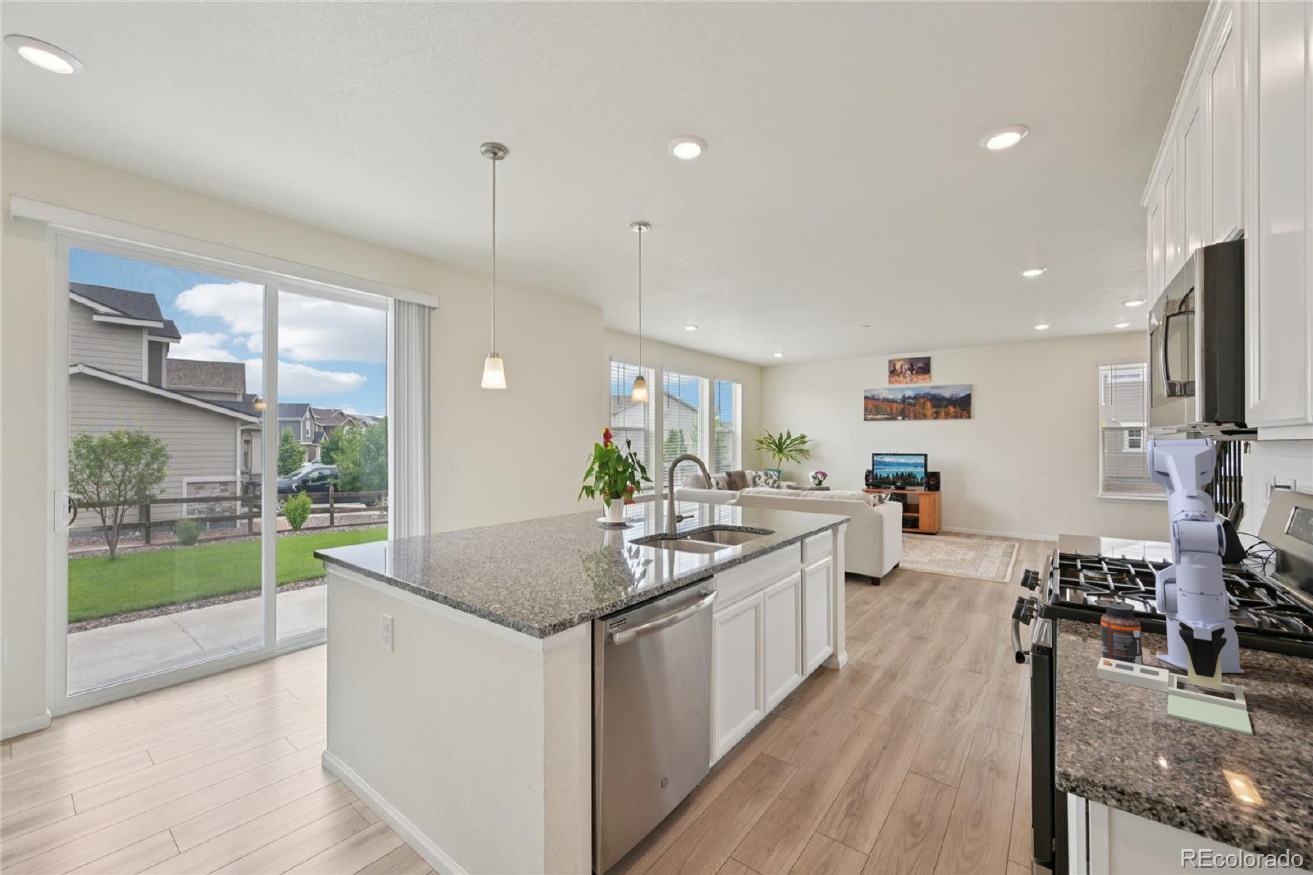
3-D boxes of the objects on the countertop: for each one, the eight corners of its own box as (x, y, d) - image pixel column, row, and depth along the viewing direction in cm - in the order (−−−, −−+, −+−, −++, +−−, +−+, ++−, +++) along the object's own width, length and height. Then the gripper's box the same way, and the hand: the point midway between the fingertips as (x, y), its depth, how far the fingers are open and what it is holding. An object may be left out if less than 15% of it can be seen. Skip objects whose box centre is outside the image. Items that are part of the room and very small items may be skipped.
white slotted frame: (1242, 692, 92) (1241, 679, 92) (1246, 711, 86) (1245, 697, 86) (1102, 665, 105) (1101, 653, 105) (1096, 679, 99) (1096, 667, 99)
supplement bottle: (1151, 672, 101) (1148, 611, 102) (1114, 670, 103) (1111, 610, 103) (1130, 660, 107) (1127, 602, 108) (1095, 658, 108) (1093, 601, 109)
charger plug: (1220, 682, 92) (1218, 646, 93) (1222, 689, 89) (1220, 652, 90) (1188, 675, 95) (1186, 641, 95) (1188, 683, 92) (1186, 647, 92)
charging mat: (1168, 696, 91) (1168, 694, 91) (1247, 713, 85) (1247, 711, 85) (1167, 715, 85) (1167, 713, 85) (1252, 735, 79) (1252, 732, 79)
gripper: (1236, 604, 85) (1242, 692, 84) (1230, 586, 95) (1235, 664, 95) (1174, 596, 90) (1179, 680, 89) (1175, 580, 100) (1179, 655, 100)
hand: (1204, 671), depth 92 cm, fingers closed on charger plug, 4 cm apart
